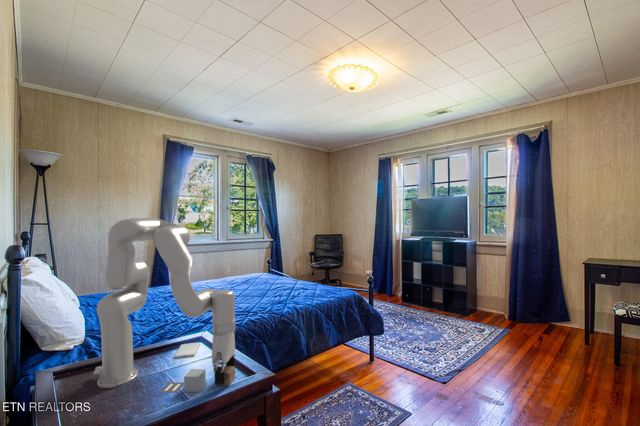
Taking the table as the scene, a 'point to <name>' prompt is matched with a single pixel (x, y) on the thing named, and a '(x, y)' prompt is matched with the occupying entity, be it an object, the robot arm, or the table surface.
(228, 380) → the walnut block
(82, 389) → the table surface
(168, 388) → the board
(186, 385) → the light grey cube
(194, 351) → the hard drive
